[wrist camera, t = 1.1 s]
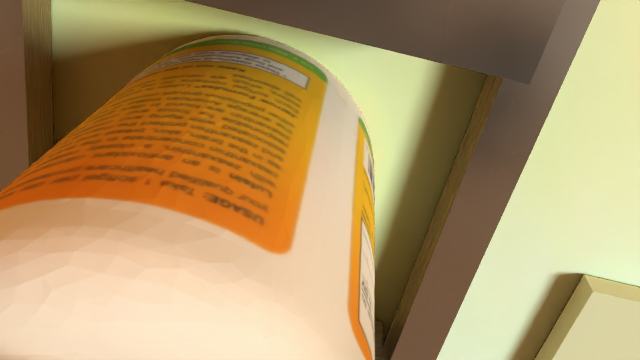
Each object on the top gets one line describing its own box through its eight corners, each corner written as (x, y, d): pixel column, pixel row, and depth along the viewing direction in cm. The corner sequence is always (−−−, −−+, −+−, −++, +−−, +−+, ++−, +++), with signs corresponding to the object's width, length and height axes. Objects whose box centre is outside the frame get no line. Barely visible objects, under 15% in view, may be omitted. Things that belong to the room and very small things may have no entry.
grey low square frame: (412, 373, 15) (421, 481, 12) (17, 284, 14) (-63, 376, 12) (591, -37, 10) (672, -3, 7) (-12, -189, 9) (-163, -213, 7)
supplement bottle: (74, 130, 12) (-632, 732, 4) (259, -32, 10) (-319, 442, 2) (240, 291, 14) (30, 949, 5) (424, 179, 12) (548, 925, 3)
